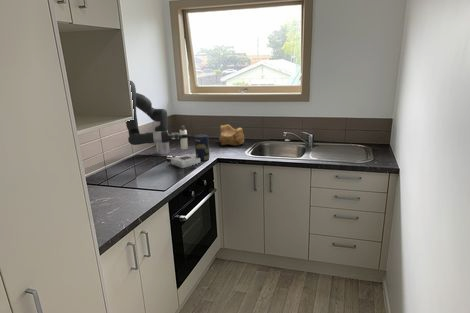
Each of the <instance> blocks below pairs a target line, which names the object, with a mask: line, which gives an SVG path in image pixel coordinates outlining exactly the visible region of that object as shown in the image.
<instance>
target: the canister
mask: <svg viewBox="0 0 470 313" xmlns="http://www.w3.org/2000/svg"><path fill="white" fill-rule="evenodd" d="M194 152H195V156H196V157H199V158H200V161H201V160H202V161H207V160H209V159H210V157H211V156H210V142H209V136H208V134H203V133H201V134H196V135H194Z"/></svg>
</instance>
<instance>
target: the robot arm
mask: <svg viewBox="0 0 470 313" xmlns="http://www.w3.org/2000/svg"><path fill="white" fill-rule="evenodd" d="M130 85H131V92H132V100H133V109H134V120H130V121H127V122H126V121H125V125H126V129H127V131H128V139H127V141H128V143H129V144H130V145H133V146H137V145H144V144H145V145H146V144H155V146H156V154H157V155H168V154H170V153H171V152H170V140H171V141H179V140H181V139H182V138H187V139H188V138H189V135H188V133H187V134H186V135H180V131H179V132H171V133H169V131H168V127H169V126H168V125H169V123H168V122H169V121H168V120H169V119H168V112H167V109H165V108H154V107H152V105H153V103H152V101H151V100H150V98H148V97H147V96H146V95H144V94H141V93H139V92H137V89H136V85H135V83H134V81H133V80H130ZM137 109H139V110H140V111H142V112H143V113H144V114H145V115H147V116H148V118H150V119H151V120H152V121H154V122H158V123H159V125H157V126H155V127H154V131H153V132H145V133H140V130H139V124H138V116H137Z"/></svg>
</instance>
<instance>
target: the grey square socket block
mask: <svg viewBox="0 0 470 313" xmlns="http://www.w3.org/2000/svg"><path fill="white" fill-rule="evenodd" d="M198 163H200V164H201V160H200V158H199V157H196V155H192V154H189V153H188V154H182V155H179V156H175V157H171V158H170V164H171V165H173V166H175V167H178V168H180V169H185V168H189V167H192V165H193V166H196V165H195V164H197V165H199V164H198Z"/></svg>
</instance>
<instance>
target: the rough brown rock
mask: <svg viewBox="0 0 470 313" xmlns="http://www.w3.org/2000/svg"><path fill="white" fill-rule="evenodd" d="M219 129H220V133H219V140H218V141H219V143H220V145H221V146H226V145H231V146H234V147H235V146H240V145H242V144H243V143H244V142H245V135H244V131H243V128H242V127H237V128H233V127H232V126H231V125H230V124H221V125H220V128H219Z"/></svg>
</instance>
